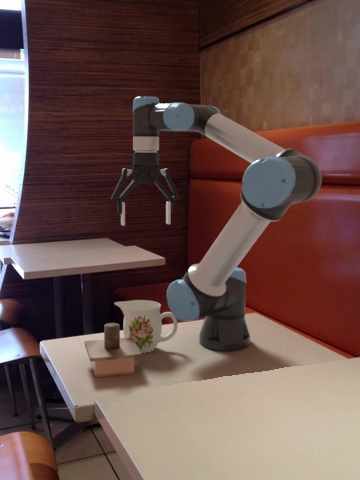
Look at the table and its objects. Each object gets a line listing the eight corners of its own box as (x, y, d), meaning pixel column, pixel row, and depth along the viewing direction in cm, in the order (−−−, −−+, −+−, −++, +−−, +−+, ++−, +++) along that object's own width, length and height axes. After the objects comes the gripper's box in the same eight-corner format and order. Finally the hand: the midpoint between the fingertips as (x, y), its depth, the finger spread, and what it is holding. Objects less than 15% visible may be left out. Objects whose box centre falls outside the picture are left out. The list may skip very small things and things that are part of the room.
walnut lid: (131, 340, 163) (131, 316, 161) (141, 357, 150) (141, 331, 149) (84, 343, 159) (84, 319, 158) (90, 361, 147) (89, 335, 146)
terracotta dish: (127, 359, 162) (127, 342, 161) (134, 374, 152) (134, 355, 151) (91, 362, 159) (90, 345, 158) (95, 377, 150) (95, 358, 149)
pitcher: (177, 356, 165) (178, 308, 162) (113, 356, 164) (112, 308, 162) (176, 342, 176) (177, 298, 173) (116, 342, 175) (115, 297, 173)
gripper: (184, 151, 177) (183, 221, 181) (101, 151, 171) (101, 223, 175) (190, 152, 170) (189, 225, 174) (104, 151, 164) (105, 227, 168)
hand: (145, 224), depth 174 cm, fingers open, 13 cm apart
